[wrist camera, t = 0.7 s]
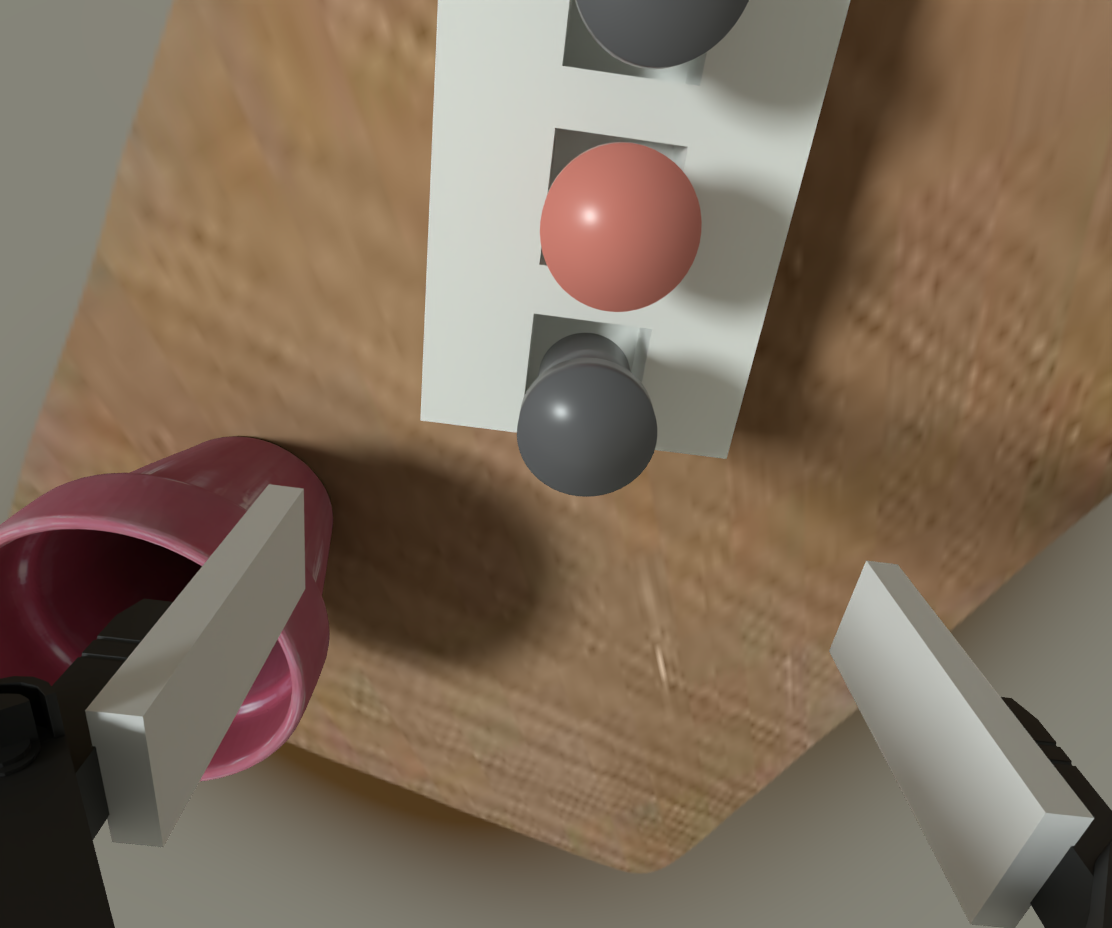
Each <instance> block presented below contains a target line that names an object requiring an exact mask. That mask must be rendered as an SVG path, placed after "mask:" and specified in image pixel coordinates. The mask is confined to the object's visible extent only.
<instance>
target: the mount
mask: <svg viewBox="0 0 1112 928" xmlns="http://www.w3.org/2000/svg"><path fill="white" fill-rule="evenodd" d="M850 1H851V0H749V1H748V3H747V5H746V7H745V9H744V11H743V13H742V15H741V16H740V18H739V19H738V21H737V22H736V24H735V25H734V26H733V28H732V29H731V30H730V31H729V32H728V34H727V35H726V36H725V37H724V38H723V39H722V40H721V41H720V42H719V43H717V44H716V45H715V46H714V47H713V48H711V49H710V50H708V51H707V52H706V53H704V54H702V55H700V56H699V57H697V58H695V59H693V60H691V61H688V62H686V63H683V64H681V65H678V66H674V67H670V68H665V69H643V68H639V67H635V66H631V65H629V64H626V63H624V62H622V61H620V60H618V59H616V58H615V57H613V56H612V55H610V54H609V53H608V52H607V51H605V50H604V49H603V48H602V47H601V46H600V45H599V44H598V43H597V42H596V41H595V39H594V38H593V37H592V35H591V34H590V33H589V31H588V29H587V28H586V26H585V24H584V22H583V20H582V18H581V16H580V13H579V11H578V8H577V5H576V1H575V0H438V15H437V39H436V63H435V87H434V110H433V134H432V158H431V182H430V206H429V230H428V254H427V277H426V301H425V325H424V349H423V373H422V397H421V420H422V421H430V422H438V423H446V424H454V425H462V426H470V427H478V428H486V429H493V430H501V431H509V432H517V425H518V420H519V414H520V409H521V404H522V401H523V398H524V396H525V394H526V392H527V390H528V389H529V387H530V386H531V384H532V383H533V382H534V381H535V380H536V379H537V377H538V373H539V368H540V364H541V361H542V359H543V357H544V355H545V354H546V352H547V351H548V349H549V348H550V347H551V346H552V345H553V344H555V343H556V342H557V341H559V340H560V339H562V338H564V337H566V336H569V335H572V334H576V333H594V334H599V335H601V336H604V337H606V338H608V339H610V340H611V341H613V342H614V343H615V344H617V345H618V346H619V347H620V349H621V350H622V351H623V353H624V354H625V356H626V358H627V360H628V363H629V366H630V370H631V373H632V374H633V375H635V376H636V377H637V378H638V379H639V381H640V382H641V383H642V384H643V386H644V387H645V389H646V390H647V392H648V395H649V397H650V399H651V402H652V406H653V409H654V413H655V417H656V422H657V442H656V447H655V450H660V451H668V452H676V453H684V454H692V455H700V456H708V457H716V458H724V459H727V455H728V451H729V447H730V444H731V440H732V436H733V433H734V429H735V425H736V422H737V418H738V414H739V411H740V407H741V403H742V399H743V396H744V392H745V388H746V385H747V381H748V377H749V374H750V370H751V366H752V363H753V359H754V355H755V351H756V348H757V344H758V340H759V337H760V333H761V329H762V326H763V322H764V318H765V315H766V311H767V307H768V303H769V300H770V296H771V292H772V289H773V285H774V281H775V278H776V274H777V270H778V266H779V263H780V259H781V255H782V252H783V248H784V244H785V241H786V237H787V233H788V230H789V226H790V222H791V218H792V215H793V211H794V207H795V204H796V200H797V196H798V193H799V189H800V185H801V182H802V178H803V174H804V170H805V167H806V163H807V159H808V156H809V152H810V148H811V145H812V141H813V137H814V134H815V130H816V126H817V122H818V119H819V115H820V111H821V108H822V104H823V100H824V97H825V93H826V89H827V85H828V82H829V78H830V74H831V71H832V67H833V63H834V60H835V56H836V52H837V49H838V45H839V41H840V37H841V34H842V30H843V26H844V23H845V19H846V15H847V12H848V8H849V4H850ZM611 142H632V143H636V144H641V145H644V146H647V147H649V148H652V149H654V150H656V151H658V152H660V153H662V154H663V155H665V156H667V157H668V158H669V159H671V160H672V161H673V162H675V163H676V165H677V166H678V167H679V168H680V169H681V170H682V171H683V172H684V173H685V175H686V176H687V177H688V179H689V181H690V182H691V184H692V186H693V188H694V190H695V193H696V195H697V198H698V201H699V206H700V210H701V220H702V227H701V238H700V244H699V247H698V251H697V254H696V257H695V259H694V261H693V264H692V266H691V267H690V269H689V271H688V273H687V274H686V275H685V277H684V278H683V279H682V281H681V282H680V283H679V284H678V285H677V286H676V287H675V288H674V289H673V290H672V291H671V292H670V293H669V294H667V295H666V296H665V297H663V298H662V299H660V300H659V301H657V302H655V303H653V304H651V305H649V306H647V307H644V308H641V309H637V310H632V311H627V312H609V311H603V310H598V309H595V308H592V307H589V306H587V305H585V304H583V303H581V302H579V301H577V300H576V299H574V298H573V297H571V296H570V295H569V294H568V293H567V292H566V291H564V290H563V289H562V287H561V286H560V285H559V284H558V283H557V282H556V280H555V279H554V277H553V276H552V274H551V272H550V270H549V268H548V266H547V264H546V262H545V259H544V256H543V252H542V247H541V241H540V220H541V215H542V210H543V206H544V203H545V200H546V197H547V194H548V192H549V189H550V187H551V185H552V183H553V182H554V180H555V179H556V177H557V176H558V174H559V173H560V172H561V171H562V169H563V168H564V167H565V166H566V165H567V164H568V163H569V162H570V161H571V160H573V159H574V158H575V157H577V156H578V155H579V154H581V153H583V152H585V151H587V150H588V149H590V148H593V147H596V146H598V145H602V144H606V143H611Z"/></svg>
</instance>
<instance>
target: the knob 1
mask: <svg viewBox="0 0 1112 928" xmlns="http://www.w3.org/2000/svg"><path fill="white" fill-rule="evenodd" d="M517 441H518V446H519V450H520V453H521V456H522V458H523V460H524V462H525V464H526V465H527V467H528V468H529V469H530V471H531V472H532V473H533V474H534V475H535V476H536V477H537V478H538V479H539V480H540V481H542V482H543V483H544V484H546V485H547V486H549V487H551V488H552V489H555V490H557V491H559V492H562V493H566V494H569V495H575V496H598V495H604V494H607V493H611V492H614V491H616V490H618V489H621V488H622V487H624V486H626V485H628V484H629V483H630V482H632V481H633V480H634V479H635V478H637V477H638V476H639V475H640V474H641V473H642V471H643V470H644V469H645V468H646V466H647V465H648V463H649V461H650V460H651V458H652V455H653V453H654V450H655V447H656V442H657V422H656V417H655V413H654V409H653V406H652V402H651V399H650V397H649V395H648V392H647V390H646V389H645V387H644V386H643V384H642V383H641V382H640V381H639V379H638V378H637V377H636V376H635V375H633V374H632V373H631V370H630V366H629V363H628V360H627V358H626V356H625V354H624V353H623V351H622V350H621V349H620V347H619V346H618V345H617V344H615V343H614V342H613V341H611V340H610V339H608V338H606V337H604V336H601V335H599V334H594V333H576V334H572V335H569V336H566V337H564V338H562V339H560V340H559V341H557V342H556V343H555V344H553V345H552V346H551V347H550V348H549V349H548V351H547V352H546V354H545V355H544V357H543V359H542V361H541V364H540V368H539V373H538V377H537V379H536V380H535V381H534V382H533V383H532V384H531V386H530V387H529V389H528V390H527V392H526V394H525V396H524V398H523V401H522V404H521V409H520V414H519V420H518V425H517Z"/></svg>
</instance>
